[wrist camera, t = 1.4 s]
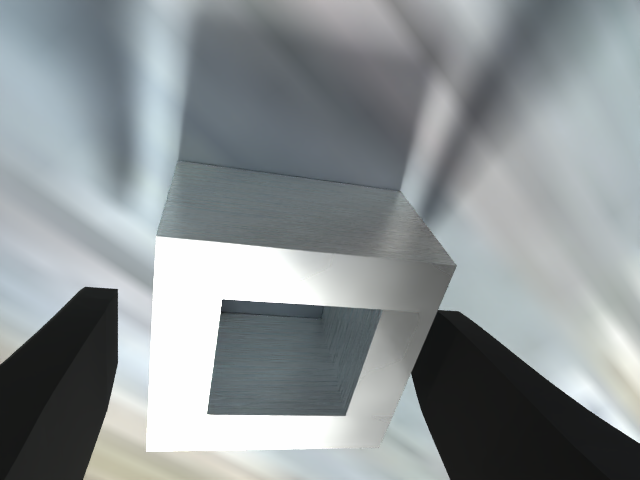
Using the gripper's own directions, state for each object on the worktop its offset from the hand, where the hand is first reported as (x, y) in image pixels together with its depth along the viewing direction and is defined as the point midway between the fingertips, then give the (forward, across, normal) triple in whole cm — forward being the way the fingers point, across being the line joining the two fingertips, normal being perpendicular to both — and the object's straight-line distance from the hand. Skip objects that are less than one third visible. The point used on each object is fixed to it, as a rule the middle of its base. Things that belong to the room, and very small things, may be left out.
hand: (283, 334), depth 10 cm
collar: (+3, 0, 0) cm, 3 cm away
